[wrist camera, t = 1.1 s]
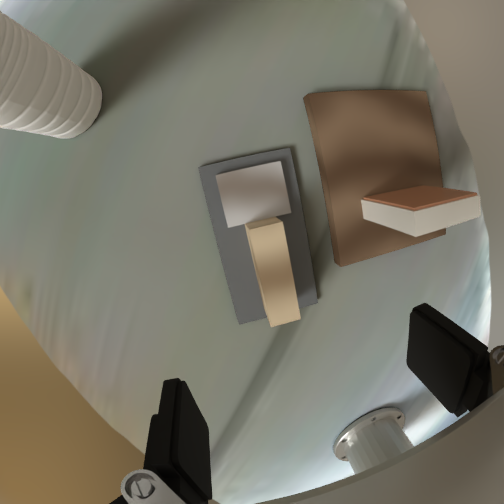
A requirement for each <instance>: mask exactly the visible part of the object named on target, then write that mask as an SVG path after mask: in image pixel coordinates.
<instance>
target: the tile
mask: <svg viewBox="0 0 504 504" xmlns="http://www.w3.org/2000/svg"><path fill="white" fill-rule="evenodd" d="M361 203H362V210H363V218H364V219H366V220H369V221H372V222H375V223H378V224H381V225H384V226H387V227H389V228H392V229H395V230H398V231H401V232H404V233H406V234H409V235H412V236H414V237H418V236H421V235H424V234H427V233H431V232H434V231H437V230H440V229H443V228H446V227H449V226H453V225H456V224H459V223H462V222H465V221H468V220H471V219H474V218H477V217H480V216H481V209H480V195H477V193H475V192H469V191H462V190H456V189H449V188H441V187H434V186H426V185H422V186H417V187H412V188H407V189H402V190H397V191H392V192H387V193H382V194H377V195H373V196H368V197H364V199H362V200H361Z"/></svg>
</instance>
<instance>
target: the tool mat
mask: <svg viewBox="0 0 504 504" xmlns="http://www.w3.org/2000/svg"><path fill="white" fill-rule="evenodd" d="M278 161H281V165H282V170H283V174H284V179H285V184H286V189H287V194H288V199H289V204H290V209H291V213H288V214H284V215H279V216H275V217H276V218H278V219H279V220H281V221H282V222H283V226H284V231H285V236H286V241H287V246H288V252H289V257H290V262H291V267H292V273H293V278H294V284H295V289H296V295H297V301H298V306H299V308H303V307H306V306H310V305H313V304H316V303H318V301H317V294H316V287H315V280H314V274H313V267H312V261H311V255H310V249H309V243H308V237H307V231H306V226H305V220H304V215H303V210H302V204H301V199H300V194H299V189H298V184H297V179H296V174H295V169H294V165H293V160H292V155H291V151H290V148H285V149H280V150H275V151H269V152H264V153H259V154H254V155H250V156H245V157H240V158H236V159H231V160H227V161H223V162H219V163H214V164H210V165H206V166H202V167H198V168H199V173H200V177H201V181H202V185H203V189H204V193H205V197H206V202H207V206H208V210H209V214H210V218H211V222H212V226H213V229H214V233H215V237H216V241H217V245H218V249H219V253H220V256H221V260H222V264H223V268H224V272H225V275H226V279H227V283H228V286H229V290H230V294H231V297H232V301H233V305H234V308H235V312H236V315H237V319H238V322H239V324H243V323H247V322H251V321H255V320H259V319H263V318H267V315H266V312H265V310H264V306H263V302H262V297H261V293H260V289H259V284H258V280H257V276H256V271H255V267H254V263H253V258H252V254H251V250H250V246H249V241H248V237H247V233H246V228H245V224H242V225H238V226H234V227H230V228H228V225H227V221H226V217H225V213H224V209H223V205H222V201H221V196H220V192H219V188H218V184H217V180H216V175H219V174H223V173H227V172H231V171H236V170H240V169H244V168H249V167H254V166H258V165H263V164H268V163H273V162H278Z"/></svg>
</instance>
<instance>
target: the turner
mask: <svg viewBox="0 0 504 504" xmlns="http://www.w3.org/2000/svg"><path fill="white" fill-rule="evenodd" d="M216 180H217V184H218V188H219V192H220V196H221V201H222V205H223V209H224V213H225V217H226V221H227V225H228V228H230V227H234V226H238V225H242V224H245V228H246V233H247V237H248V241H249V246H250V250H251V254H252V258H253V263H254V267H255V271H256V276H257V280H258V284H259V289H260V293H261V297H262V302H263V306H264V310H265V312H266V315H267V317H268V320H269V323H270V325H271V327H273V326H277V325H281V324H284V323H288V322H292V321H295V320H298V319H301V318H300V312H299V306H298V301H297V295H296V289H295V284H294V278H293V273H292V267H291V262H290V257H289V252H288V246H287V241H286V236H285V231H284V226H283V222H282V221H281V220H279V219H278V218H276V217H275V216H279V215H284V214H288V213H291V209H290V204H289V199H288V194H287V189H286V184H285V179H284V174H283V170H282V165H281V161H278V162H273V163H268V164H263V165H258V166H254V167H249V168H244V169H240V170H236V171H231V172H227V173H223V174H219V175H216Z"/></svg>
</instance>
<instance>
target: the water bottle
mask: <svg viewBox="0 0 504 504" xmlns="http://www.w3.org/2000/svg"><path fill="white" fill-rule="evenodd" d="M101 100H102V91H101V87H100V85H99V84H98V82H97V81H96V80H95V79H94V78H93V77H92V76H91V75H89V74H88V73H87V72H85V71H84V70H82V69H81V68H80V67H79V66H77V65H75V64H74V63H73V62H72V61H71V60H69V59H67V58H66V57H65V56H64V55H63V54H61V53H60V52H58V51H57V50H55V49H54V48H53V47H52V46H50V45H49V44H48V43H46V42H44V41H42V40H41V39H40V38H39V37H38V36H37V35H35V34H34V33H32V32H31V31H29V30H27V29H26V28H24V27H23V26H21V25H20V24H18V23H17V22H15V21H14V20H13V19H11V18H9V17H8V16H7V15H5V14H3V13H2V12H1V11H0V128H6V129H14V130H18V131H26V132H31V133H39V134H42V135H49V136H53V137H57V138H64V139H67V138H73V137H76V136H77V135H80V134H82V133H83V132H85V131H86V130H87V129H88V128H89V127H90V126H91V125H92V123H93V121H94V120H95V119H96V118H97V116H98V114H99V111H100V109H101V104H102V102H101Z"/></svg>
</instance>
